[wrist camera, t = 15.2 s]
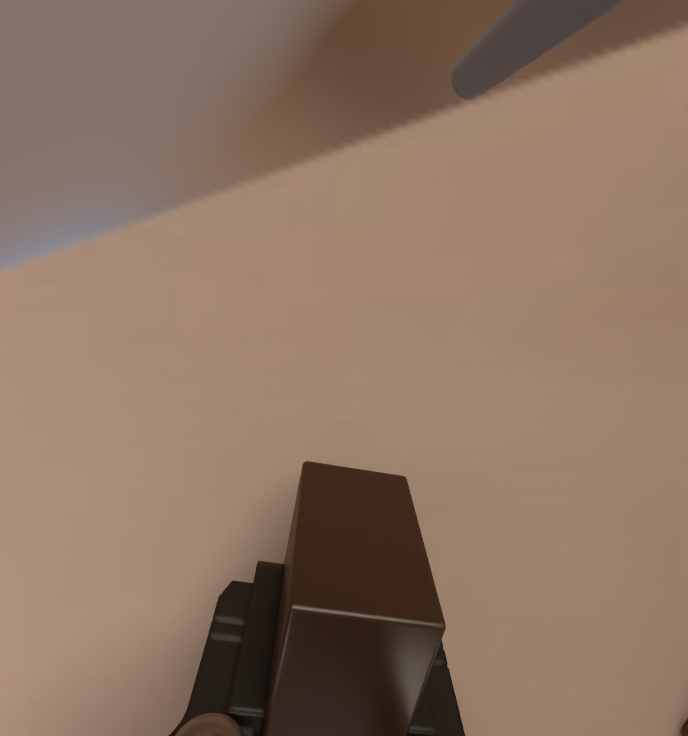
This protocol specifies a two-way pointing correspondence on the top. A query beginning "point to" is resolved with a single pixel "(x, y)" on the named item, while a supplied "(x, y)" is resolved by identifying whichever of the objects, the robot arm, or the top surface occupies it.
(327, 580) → the knife
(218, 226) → the top surface
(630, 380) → the top surface
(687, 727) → the board
